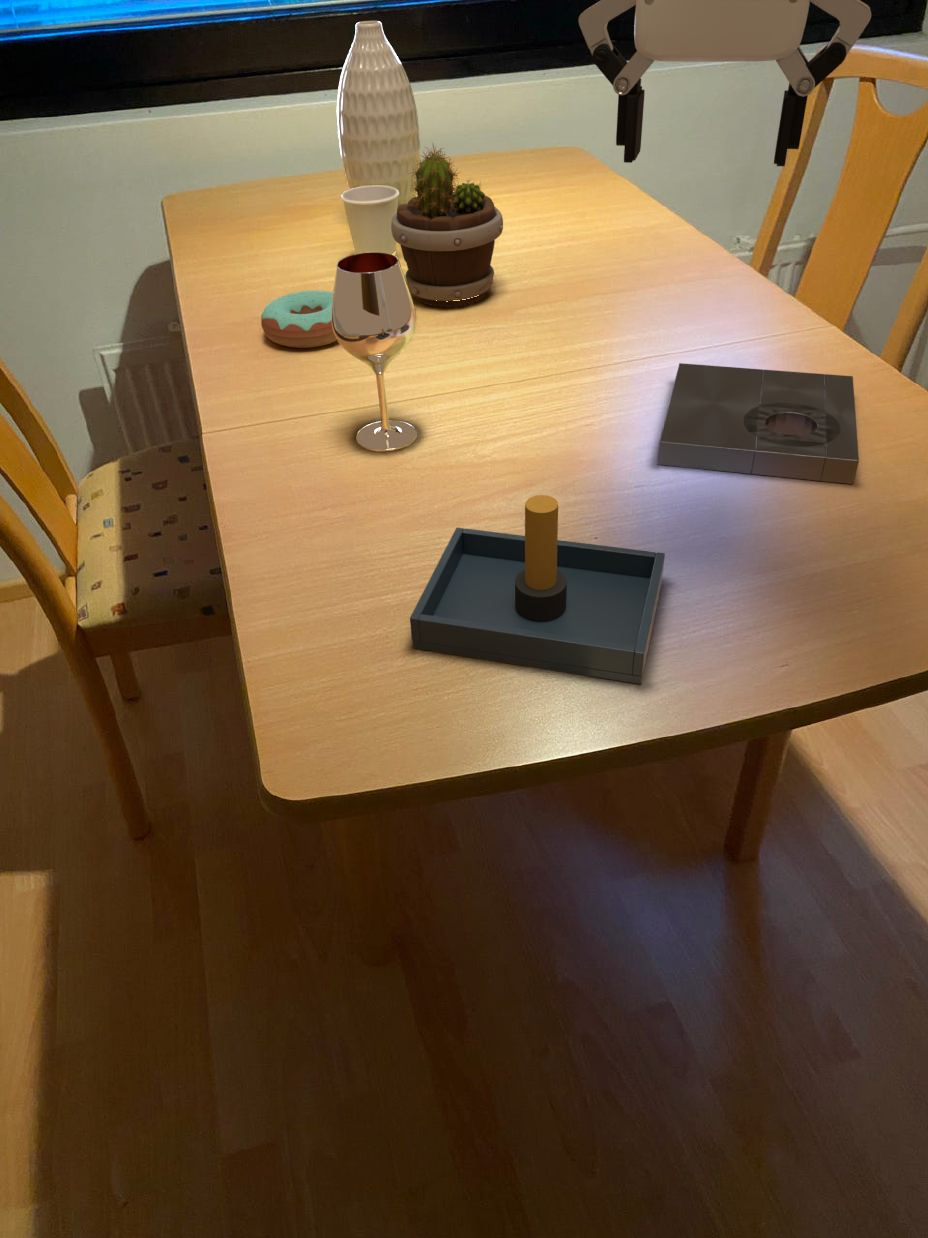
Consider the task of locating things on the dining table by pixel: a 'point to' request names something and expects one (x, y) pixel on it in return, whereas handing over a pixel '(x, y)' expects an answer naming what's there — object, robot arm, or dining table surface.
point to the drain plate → (761, 423)
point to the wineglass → (375, 331)
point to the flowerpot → (446, 236)
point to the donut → (300, 319)
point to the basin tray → (574, 642)
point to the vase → (377, 115)
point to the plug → (541, 564)
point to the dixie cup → (371, 217)
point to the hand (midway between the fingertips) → (704, 159)
